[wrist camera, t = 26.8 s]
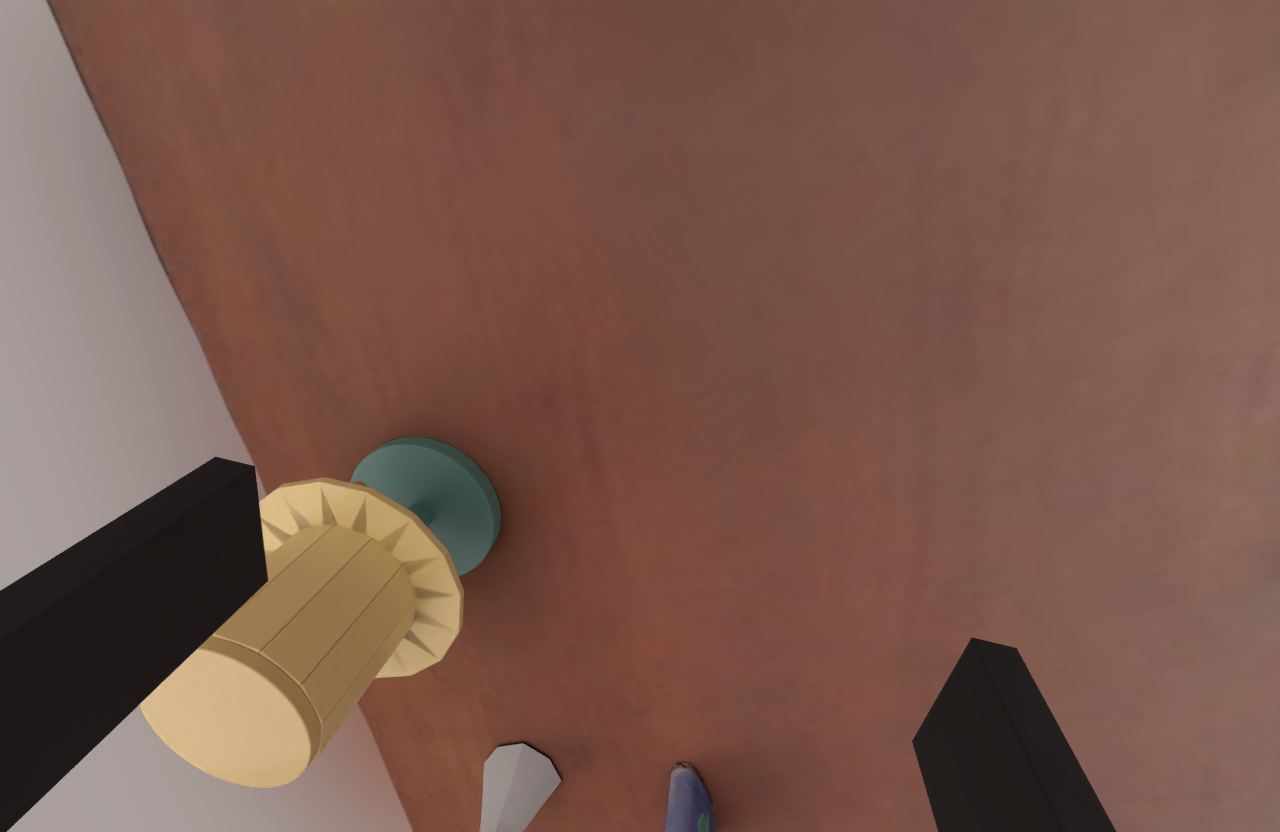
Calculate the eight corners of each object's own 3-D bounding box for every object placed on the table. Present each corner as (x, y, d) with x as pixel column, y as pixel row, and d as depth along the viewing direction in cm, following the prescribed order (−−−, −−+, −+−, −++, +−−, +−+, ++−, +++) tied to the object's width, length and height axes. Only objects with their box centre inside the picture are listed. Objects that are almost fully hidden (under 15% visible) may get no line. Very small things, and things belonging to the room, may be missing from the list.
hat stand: (336, 448, 48) (81, 620, 30) (473, 425, 45) (283, 600, 27) (391, 574, 52) (196, 795, 34) (520, 561, 49) (383, 794, 31)
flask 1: (524, 731, 56) (480, 839, 47) (575, 781, 58) (542, 896, 49) (472, 757, 59) (421, 865, 50) (522, 804, 60) (481, 918, 51)
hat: (206, 495, 38) (20, 610, 29) (413, 462, 35) (283, 581, 25) (305, 676, 44) (176, 826, 34) (494, 664, 40) (412, 827, 30)
